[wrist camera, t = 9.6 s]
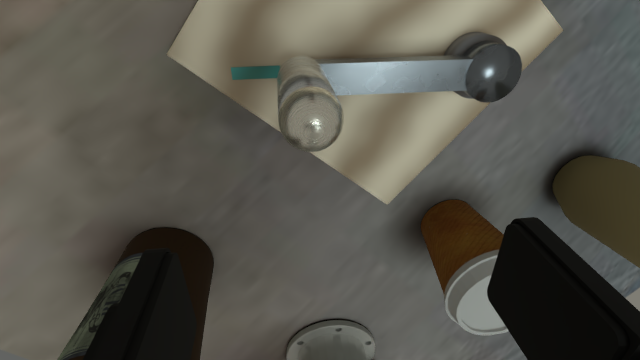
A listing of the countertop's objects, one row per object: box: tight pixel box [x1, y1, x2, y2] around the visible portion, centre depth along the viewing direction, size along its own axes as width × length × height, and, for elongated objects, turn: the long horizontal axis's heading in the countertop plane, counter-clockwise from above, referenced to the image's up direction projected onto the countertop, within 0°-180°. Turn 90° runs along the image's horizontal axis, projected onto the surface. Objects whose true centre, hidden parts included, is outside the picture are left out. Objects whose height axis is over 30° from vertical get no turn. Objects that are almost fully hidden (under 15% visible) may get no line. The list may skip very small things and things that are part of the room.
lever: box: [277, 41, 522, 152], centre depth 24 cm, size 19×4×12 cm, turn 90°
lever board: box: [166, 0, 563, 205], centre depth 29 cm, size 25×22×3 cm
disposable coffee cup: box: [421, 200, 509, 335], centre depth 37 cm, size 10×10×12 cm
